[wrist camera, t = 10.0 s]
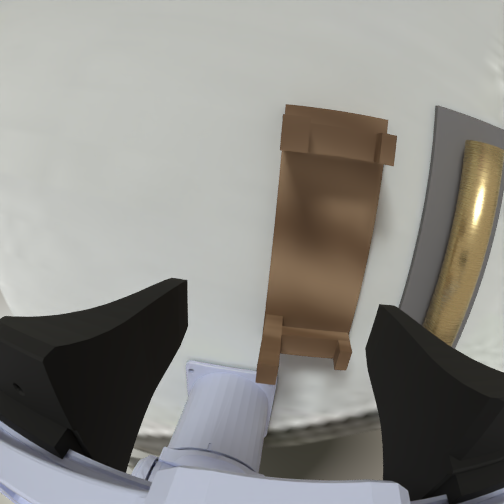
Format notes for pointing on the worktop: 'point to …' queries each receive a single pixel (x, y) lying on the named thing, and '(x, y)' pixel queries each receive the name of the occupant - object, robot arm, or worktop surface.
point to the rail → (466, 239)
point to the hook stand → (321, 232)
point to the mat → (445, 208)
